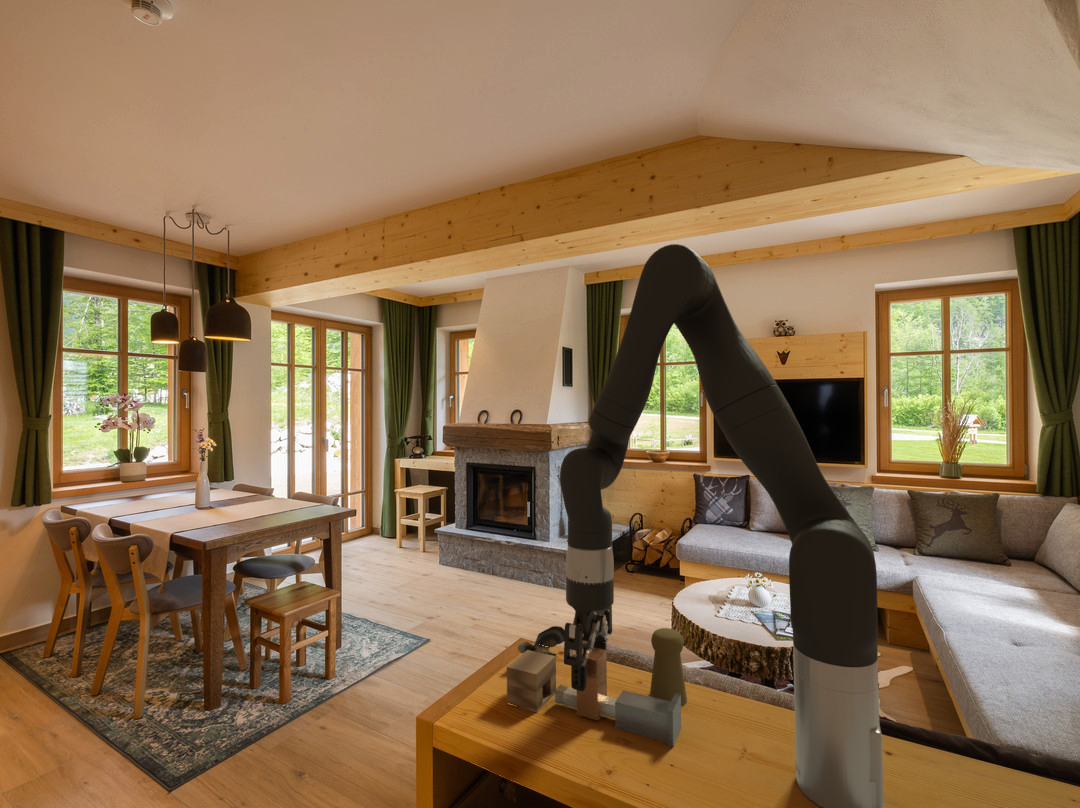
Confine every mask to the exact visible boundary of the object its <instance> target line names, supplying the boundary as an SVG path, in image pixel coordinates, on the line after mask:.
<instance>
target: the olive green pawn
mask: <svg viewBox="0 0 1080 808" xmlns="http://www.w3.org/2000/svg"><path fill="white" fill-rule="evenodd" d="M650 641H651V646H652V649H653V651H654V656H653V665H652V673H651V681H650V682H651V683H650V691H649V696H650V697H654V698H658V699H662V700H667V701H672V699H673V697H674V695H675V693H677V694H681V708H682V707H684V706H685V705H686V704H687V703H688V696H687V689H686V683H685V678H684V670H683V663H682V657H681V653H682V651H683V649H684V638H683V636H682V635H681V633H680V632H679V631H678V630H675V629H673V628H666V627H664V628H658V629H656V630H654V632H653V633H652V634H651V640H650Z"/></svg>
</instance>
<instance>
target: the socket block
mask: <svg viewBox="0 0 1080 808" xmlns="http://www.w3.org/2000/svg"><path fill="white" fill-rule="evenodd" d="M556 662H557V655H554V654H544V653H539V652H535V651H530V650H527V651H526V652H524V653H521V654H520V655H519V656H518V657H517V658H516V659H515V660H513V661H512V662H511V663H510V664H509V665H508V666H507V667H506V703H507V702H508V703H510V704H513V705H516V706H518V707H517V708H519V707H521V708H520V709H522V708H523V709H522V710H527V711H530V712H533V713H539V711H540V710H541V709H542V708H543V707H544V706H545V705H546V704H547V702H548V701H549V700H550V699H551V698H552V697H553V696H555V690H556V689H557V663H556Z"/></svg>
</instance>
